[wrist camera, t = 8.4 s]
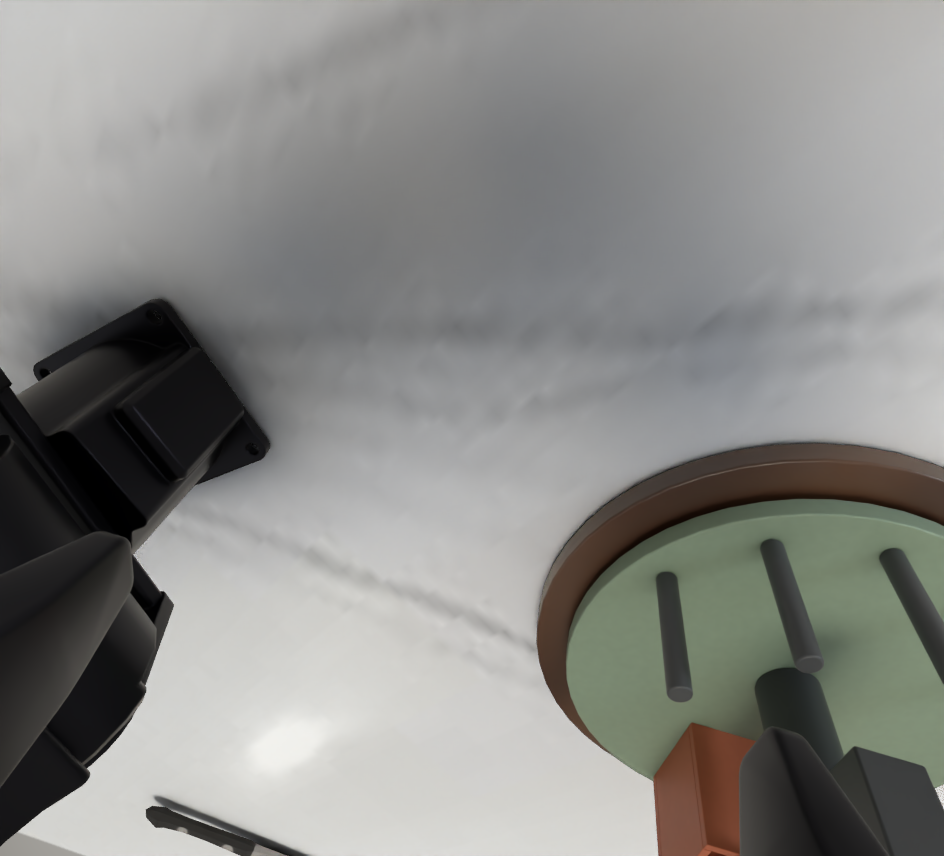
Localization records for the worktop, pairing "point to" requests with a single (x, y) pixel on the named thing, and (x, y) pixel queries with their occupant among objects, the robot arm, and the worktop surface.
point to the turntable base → (712, 490)
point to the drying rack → (772, 663)
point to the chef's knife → (206, 832)
